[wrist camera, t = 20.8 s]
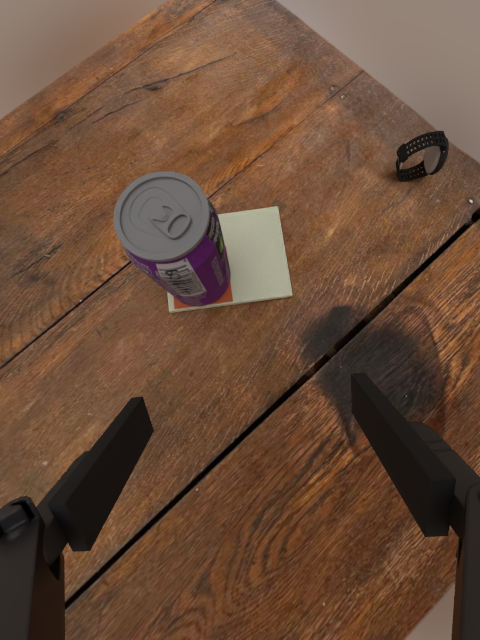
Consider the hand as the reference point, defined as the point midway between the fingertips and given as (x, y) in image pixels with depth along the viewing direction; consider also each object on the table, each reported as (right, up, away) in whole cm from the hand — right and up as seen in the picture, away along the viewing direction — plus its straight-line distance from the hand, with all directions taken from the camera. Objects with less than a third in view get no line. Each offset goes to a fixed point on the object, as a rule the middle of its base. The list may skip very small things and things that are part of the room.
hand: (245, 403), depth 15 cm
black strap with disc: (+20, +23, +14) cm, 34 cm away
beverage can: (-5, +10, +12) cm, 17 cm away
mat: (-2, +12, +13) cm, 18 cm away
